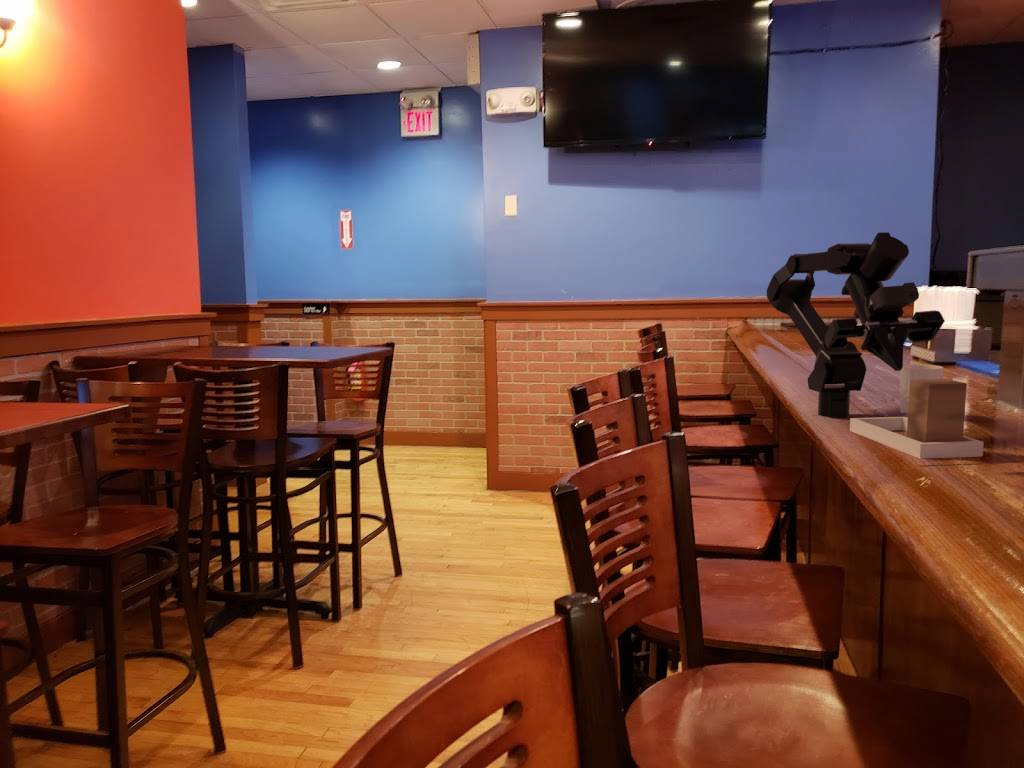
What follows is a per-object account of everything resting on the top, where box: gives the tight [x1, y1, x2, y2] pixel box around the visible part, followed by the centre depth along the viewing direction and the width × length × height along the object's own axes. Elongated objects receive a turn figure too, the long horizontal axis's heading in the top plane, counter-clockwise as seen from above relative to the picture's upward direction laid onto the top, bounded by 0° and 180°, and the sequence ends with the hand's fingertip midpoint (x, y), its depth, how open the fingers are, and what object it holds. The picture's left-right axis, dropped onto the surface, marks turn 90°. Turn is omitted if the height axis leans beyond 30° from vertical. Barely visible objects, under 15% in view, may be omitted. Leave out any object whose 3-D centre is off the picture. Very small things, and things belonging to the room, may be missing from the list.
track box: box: [849, 416, 985, 468], centre depth 129 cm, size 21×10×4 cm, turn 4°
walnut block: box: [906, 378, 968, 443], centre depth 122 cm, size 5×6×11 cm
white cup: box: [899, 363, 944, 414], centre depth 158 cm, size 8×8×10 cm
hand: (899, 369), depth 131 cm, fingers closed
